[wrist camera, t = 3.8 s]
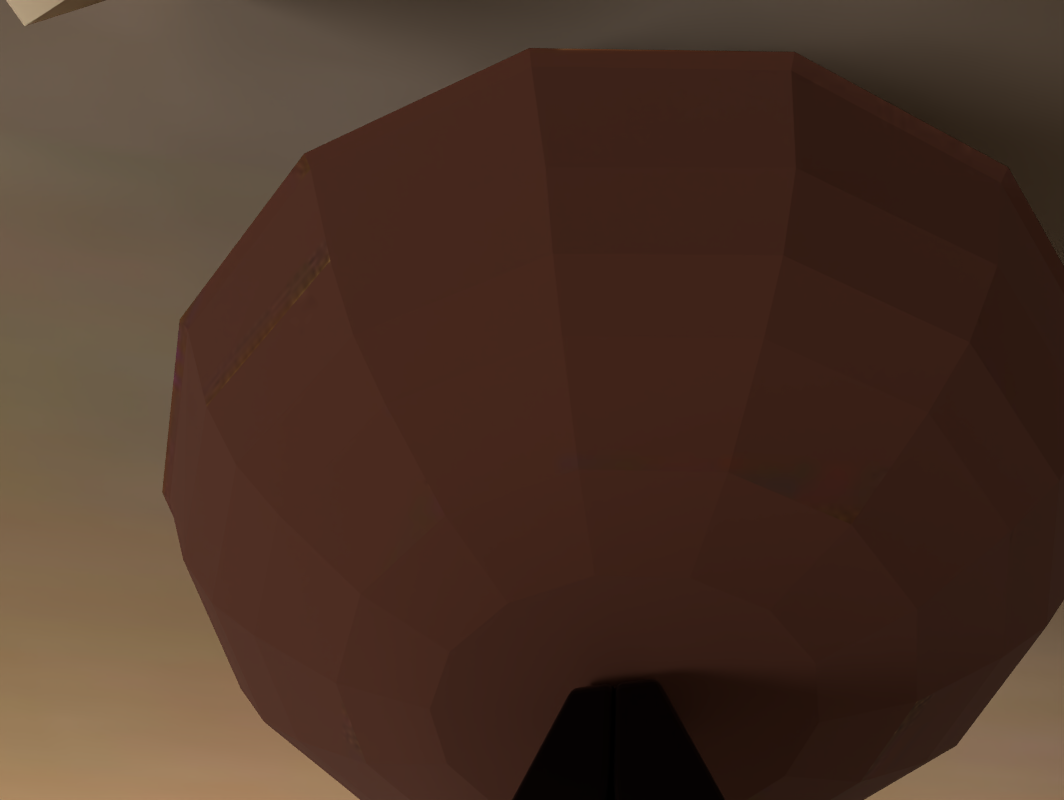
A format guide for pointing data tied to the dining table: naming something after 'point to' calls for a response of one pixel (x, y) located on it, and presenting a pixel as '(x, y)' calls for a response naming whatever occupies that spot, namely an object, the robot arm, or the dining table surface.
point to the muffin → (628, 427)
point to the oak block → (45, 8)
